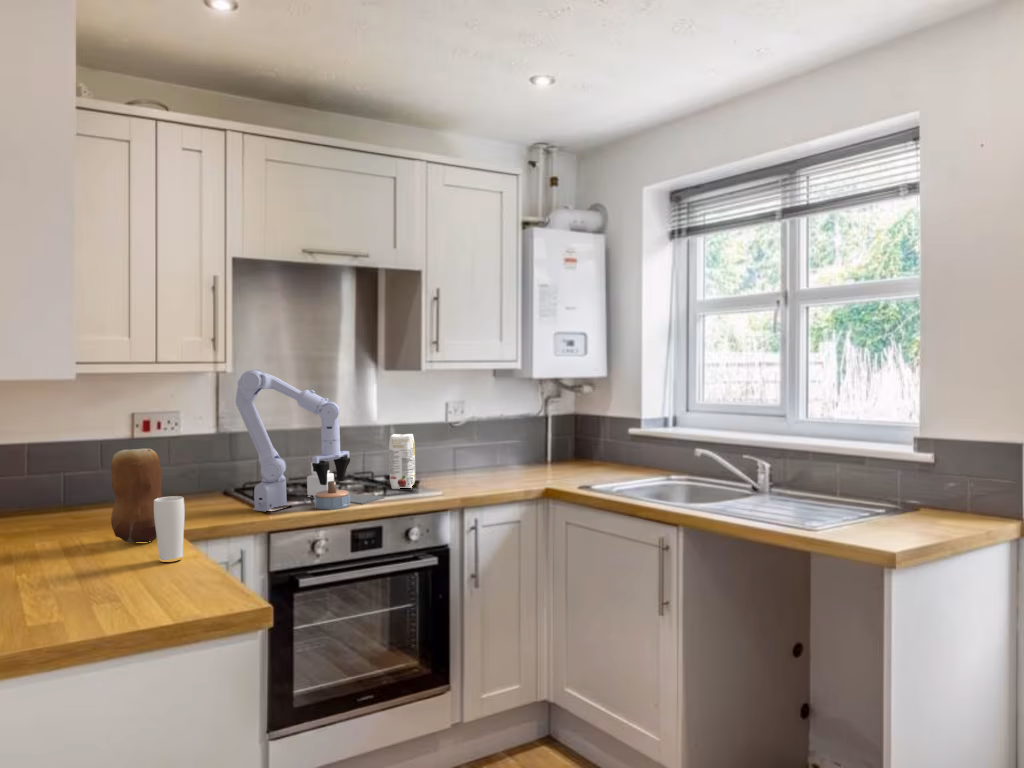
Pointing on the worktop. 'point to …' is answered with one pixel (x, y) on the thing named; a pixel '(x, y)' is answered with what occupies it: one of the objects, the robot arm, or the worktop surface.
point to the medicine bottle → (317, 481)
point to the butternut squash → (135, 494)
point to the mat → (364, 498)
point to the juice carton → (402, 461)
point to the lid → (332, 491)
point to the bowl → (332, 502)
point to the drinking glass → (169, 526)
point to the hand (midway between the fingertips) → (332, 482)
